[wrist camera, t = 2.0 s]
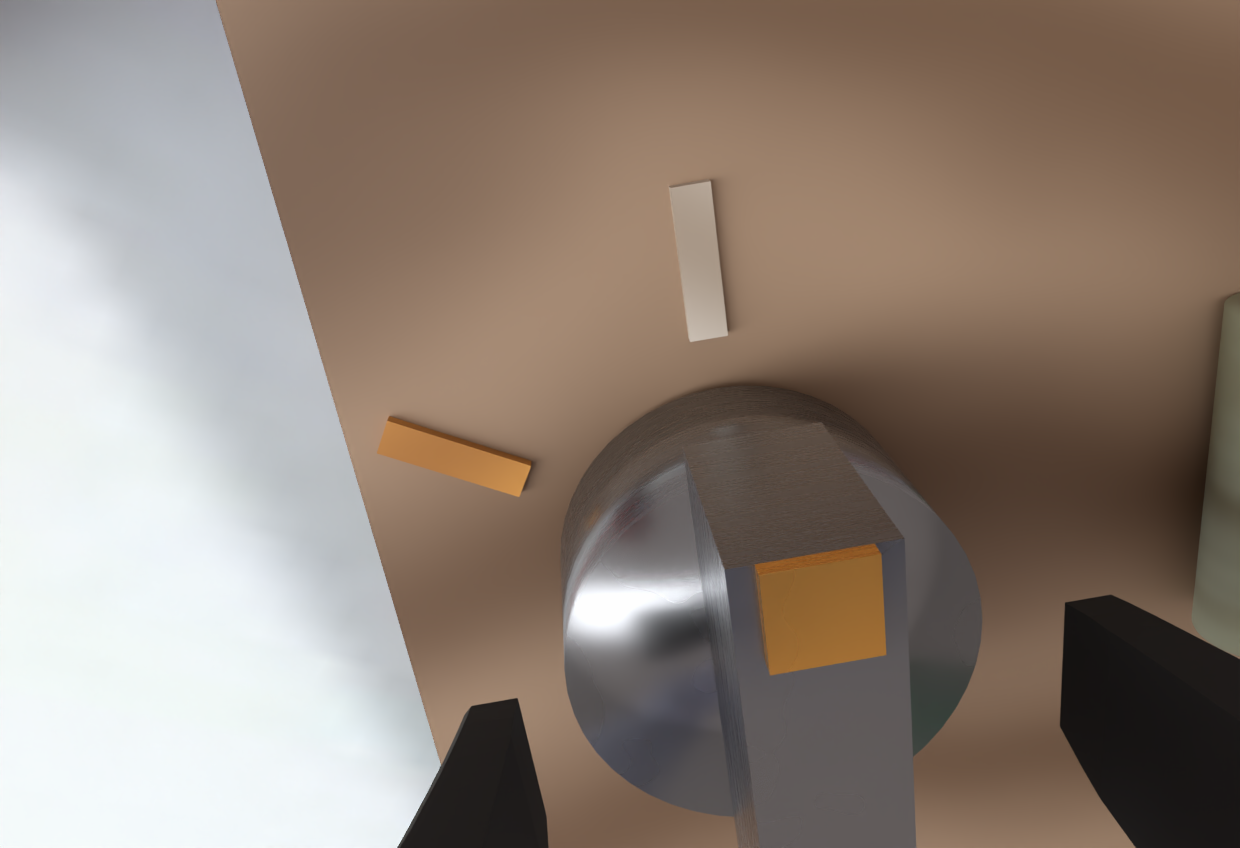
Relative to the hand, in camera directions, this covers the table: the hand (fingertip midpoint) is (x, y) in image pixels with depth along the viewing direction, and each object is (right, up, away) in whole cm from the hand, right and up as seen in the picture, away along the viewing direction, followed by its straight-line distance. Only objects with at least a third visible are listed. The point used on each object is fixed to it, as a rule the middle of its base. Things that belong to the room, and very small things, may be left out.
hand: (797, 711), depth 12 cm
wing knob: (0, +2, +4) cm, 4 cm away
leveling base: (+3, +3, +6) cm, 7 cm away
